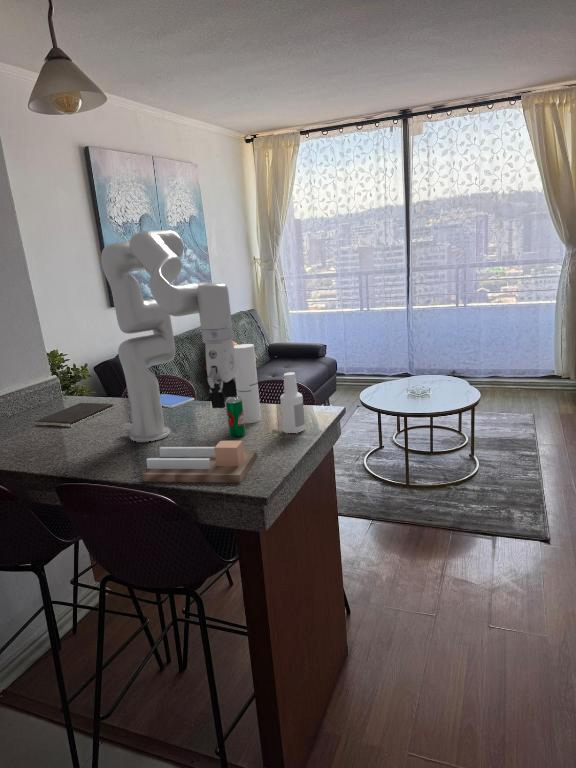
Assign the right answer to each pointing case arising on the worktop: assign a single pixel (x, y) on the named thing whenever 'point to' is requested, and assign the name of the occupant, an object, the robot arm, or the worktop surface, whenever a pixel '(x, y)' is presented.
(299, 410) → the white bottle
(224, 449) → the block
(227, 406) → the soda can
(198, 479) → the board
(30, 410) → the worktop surface
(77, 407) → the hardcover book
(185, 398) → the tablet computer
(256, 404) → the cylindrical container
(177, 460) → the channel
